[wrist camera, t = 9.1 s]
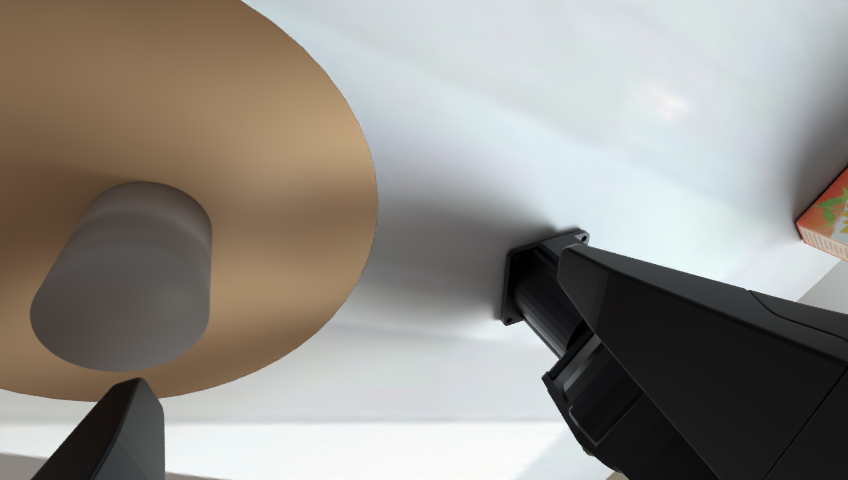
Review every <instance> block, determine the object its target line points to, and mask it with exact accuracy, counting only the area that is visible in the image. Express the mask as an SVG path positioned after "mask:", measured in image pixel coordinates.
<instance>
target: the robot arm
mask: <svg viewBox="0 0 848 480" xmlns="http://www.w3.org/2000/svg"><path fill="white" fill-rule="evenodd" d="M589 237H590V235H589V233H588V232H586V231H585V230H579V231H576V232H572V233H569V234H565V235H562V236H558V237H555V238H551V239H547V240H544V241H540V242H537V243H533V244H530V245H526V246H523V247H519V248H515V249H513V250H511V251H510V252H509V253H508V255H507V261H506V271H505V281H504V291H503V301H502V310H501V321H502V323H503V324H504V325H506V326H508V325H511V324H514V323H517V322H520V321H523V320H524V321H525V322H526V323H527V324H528V325H529V327H530V328H531V329H532V330H533V331H534V332H535V333H536V334H537V335H538V336H539V338H540V339H541V340H542V341H543V342H544V343H545V344H546V345H547V346H548V347H549V349H550V350H551V351H552V352H553V353H554V354H555V355H556V356H557V357H558V358H559V360H558V361H557V363H556V364H555V365H554V366H553V367H552V368H551V370H550V371H549V372H548V371H547V372H546V373H545V374H544V375H543V376H542V378H541V379H542V380H543V382H544V384H545V386H546V387H547V391H548V392H549V394H550V396H551V398H552V399H553V401H554V403H555V404H556V406H557V408H558V409H559V411H560V413H561V414H562V416H563V418H564V419H565V421H566V423H567V424H568V426H569V428H570V430H571V431H572V433H573V435H574V436H575V438H576V440H577V441H578V443H579V444H580V445H581V447H582V449H583V450H584V451H585V452H586V453H587V454H588V455H590V456H594V457H596V458H597V459H598V460H599V461H601V462H602V463H603V464H604V465H606V466H607V467H609V468H610V469H612V470H614V471H616V472H619V473H623V474H624V475H625V476H626V477H627V478H628V479H629V480H848V314H844V313H839V312H835V311H831V310H826V309H822V308H818V307H814V306H809V305H805V304H801V303H797V302H793V301H789V300H786V299H782V298H778V297H774V296H770V295H766V294H763V293H759V292H756V291H752V290H748V291H747V290H746V289H744V288H741V287H737V286H733V285H730V284H726V283H722V282H719V281H715V280H711V279H708V278H704V277H700V276H697V275H693V274H689V273H686V272H682V271H678V270H675V269H671V268H667V267H664V266H660V265H656V264H653V263H649V262H645V261H642V260H638V259H634V258H631V257H627V256H623V255H620V254H616V253H612V252H609V251H605V250H601V249H598V248H594V247H590V246H588V242H589ZM515 256H516V257H515ZM514 257H515V258H514ZM31 480H165V434H164V412H163V408H162V406H161V404H160V402H159V400H158V399H157V397H156V396H155V394H154V393H153V391H152V389H151V388H150V386H149V385H148V383H147V382H146V380H145V379H143V378H141V377H136V378H133V379H129V380H126V381H123V382H120V383H117V384H115V385H113V386H112V387H111V388H110V389H109V390H108V391H107V393H106V394H105V395H104V396H103V397H102V398H101V399H100V401H99V402H98V403H97V404H96V405H95V406H94V407H93V409H92V410H91V411H90V412H89V413H88V414H87V415H86V417H85V418H84V419H83V420H82V421H81V422H80V423H79V425H78V426H77V427H76V428H75V429H74V430H73V431H72V433H71V434H70V435H69V436H68V437H67V438H66V439H65V441H64V442H63V443H62V444H61V445H60V446H59V448H58V449H57V450H56V451H55V452H54V453H53V454H52V456H51V457H50V458H49V459H48V460H47V461H46V463H45V464H44V465H43V466H42V467H41V468H40V469H39V470H38V472H37V473H36V474H35V475H34V476H33V477H32V478H31Z"/></svg>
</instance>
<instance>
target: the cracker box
mask: <svg viewBox="0 0 848 480" xmlns="http://www.w3.org/2000/svg"><path fill="white" fill-rule="evenodd" d="M796 224H797V227H798V229H799V231H800V234H801V236H802V238H803V241H804V243H806V244H808V245H810V246H813V247H815V248H817V249H819V250H822V251H824V252H826V253H829V254H831V255H833V256H836V257H838V258H840V259H843V260H845V261H847V262H848V168H847V169H846V170H845V171H844V172H843V173H842V174H841V175H840V176H839V177H838V178H837V180H836V181H835V182H834V183H833V184H832V185H831V186H830V187H829V188H828V189H827V190H826V191H825V192H824V193H823V194H822V196H821V197H820V198H819V199H818V200H817V201H816V202H815V203H814V204H813V205H812V206H811V207H810V208H809V209H808V210H807V211H806V212H805V213H804V214H803V215H802V216H801V217H800V218H799V220H798V221H797V223H796Z"/></svg>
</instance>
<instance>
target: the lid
mask: <svg viewBox="0 0 848 480" xmlns="http://www.w3.org/2000/svg"><path fill="white" fill-rule="evenodd" d="M377 203H378V197H377V187H376V176H375V172H374V167H373V163H372V159H371V155H370V151H369V148H368V145H367V143H366V140H365V138H364V135H363V132H362V130H361V127H360V125H359V123H358V121H357V119H356V118H355V116H354V114H353V112H352V110H351V108H350V107H349V105H348V103H347V101H346V99H345V98H344V96H343V95H342V94H341V92H340V91H339V90H338V88H337V87H336V85H335V84H334V83H333V81H332V80H331V79H330V77H329V76H328V74H327V73H326V72H325V71H324V70H323V69H322V68H321V67H320V66H319V64H318V63H317V62H316V61H315V60H314V59H313V58H312V57H311V56H310V55H309V54H308V53H307V52H306V50H305V49H304V48H303V47H302V46H300V45H299V44H298V43H297V42H296V41H295V40H293V39H292V38H291V37H290V36H289V35H288V34H286V33H285V32H284V31H283V30H282V29H280V28H279V27H278V26H277V25H276V24H275V23H273V22H272V21H271V20H269V19H268V18H266V17H265V16H263V15H262V14H260V13H259V12H257V11H256V10H254V9H253V8H251V7H250V6H248V5H247V4H245V3H244V2H242V1H241V0H0V389H4V390H8V391H12V392H16V393H21V394H27V395H34V396H40V397H46V398H52V399H62V400H74V401H87V402H99V401H100V399H101V398H102V397H103V396H104V395H105V394H106V393H107V391H108V390H109V389H110V388H111V387H112V386H113V385H115V384H117V383H120V382H123V381H126V380H129V379H133V378H136V377H141V378H143V379H145V380H146V382H147V383H148V385H149V386H150V388H151V389H152V391H153V393H154V394H155V396H156V397H157V399H159V398H165V397H172V396H179V395H184V394H188V393H192V392H197V391H201V390H205V389H209V388H212V387H215V386H219V385H222V384H225V383H228V382H231V381H234V380H236V379H239V378H241V377H244V376H246V375H249V374H251V373H253V372H256V371H258V370H260V369H262V368H264V367H266V366H268V365H269V364H271V363H273V362H275V361H277V360H279V359H280V358H282V357H284V356H285V355H287V354H288V353H290V352H291V351H293V350H294V349H296V348H298V347H299V346H300V345H301V344H303V343H304V342H305V341H307V340H308V339H309V338H310V337H312V336H313V335H314V334H315V333H317V332H318V331H319V330H320V329H321V328H322V327H323V326H324V325H325V324H326V323H327V322H328V321H329V320H330V319H331V318H332V317H333V315H334V314H335V313H336V312H337V311H338V309H339V308H340V307H341V306H342V305H343V303H344V302H345V301H346V299H347V298H348V296H349V295H350V293H351V291H352V290H353V288H354V287H355V285H356V284H357V282H358V280H359V278H360V275H361V273H362V271H363V269H364V267H365V265H366V263H367V259H368V256H369V253H370V250H371V247H372V244H373V239H374V234H375V228H376V223H377Z"/></svg>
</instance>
